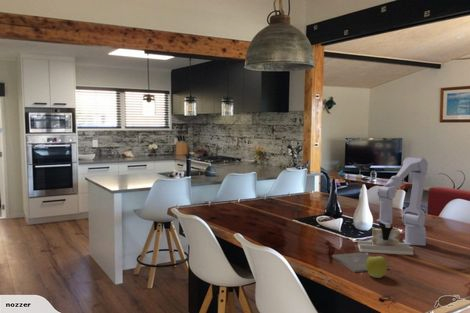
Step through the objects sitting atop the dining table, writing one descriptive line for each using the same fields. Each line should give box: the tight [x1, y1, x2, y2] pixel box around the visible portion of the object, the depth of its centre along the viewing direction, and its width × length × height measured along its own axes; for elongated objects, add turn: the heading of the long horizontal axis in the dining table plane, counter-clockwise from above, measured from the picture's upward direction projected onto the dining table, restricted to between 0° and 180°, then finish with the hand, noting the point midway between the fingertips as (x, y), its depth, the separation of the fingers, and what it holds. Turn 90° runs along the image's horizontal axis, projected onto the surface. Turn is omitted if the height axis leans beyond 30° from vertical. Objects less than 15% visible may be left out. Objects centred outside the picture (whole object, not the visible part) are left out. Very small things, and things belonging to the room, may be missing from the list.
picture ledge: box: [357, 240, 414, 256], centre depth 199 cm, size 24×10×3 cm, turn 79°
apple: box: [366, 255, 388, 279], centre depth 165 cm, size 8×8×10 cm
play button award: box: [331, 252, 390, 273], centre depth 181 cm, size 16×2×20 cm
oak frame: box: [371, 227, 401, 246], centre depth 198 cm, size 12×3×8 cm, turn 79°
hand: (385, 238), depth 198 cm, fingers closed on oak frame, 3 cm apart
